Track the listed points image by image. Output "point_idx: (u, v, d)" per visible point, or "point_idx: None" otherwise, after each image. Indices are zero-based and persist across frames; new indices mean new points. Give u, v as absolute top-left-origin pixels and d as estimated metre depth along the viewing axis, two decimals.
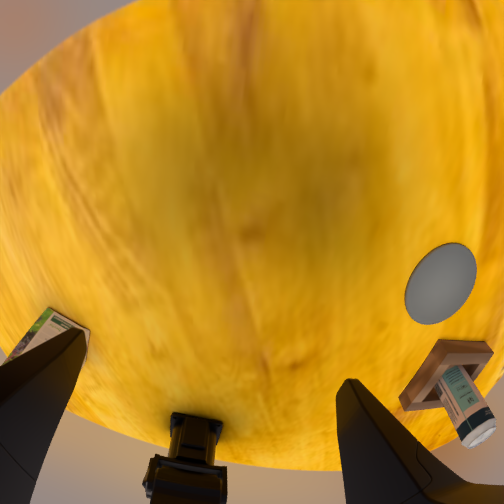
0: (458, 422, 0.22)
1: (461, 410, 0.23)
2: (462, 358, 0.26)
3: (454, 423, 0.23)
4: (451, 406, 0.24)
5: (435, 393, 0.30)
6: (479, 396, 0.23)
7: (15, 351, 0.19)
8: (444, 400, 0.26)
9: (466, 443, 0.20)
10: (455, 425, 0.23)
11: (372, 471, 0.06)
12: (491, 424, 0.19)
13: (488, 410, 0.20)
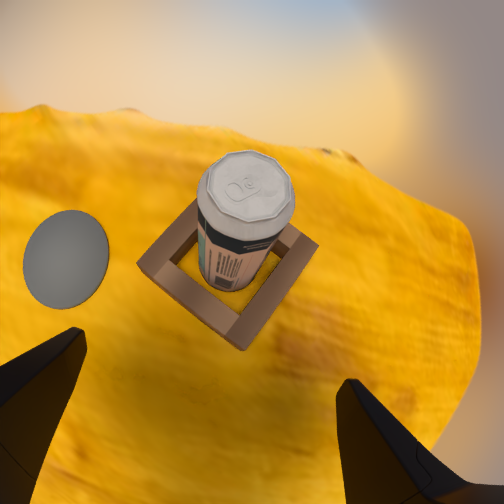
0: (219, 249, 0.15)
1: (205, 242, 0.16)
2: (174, 236, 0.22)
3: (232, 258, 0.16)
4: (215, 263, 0.18)
5: None
6: None
7: None
8: (222, 274, 0.19)
9: (240, 227, 0.13)
10: (233, 256, 0.16)
11: (372, 471, 0.06)
12: None
13: None
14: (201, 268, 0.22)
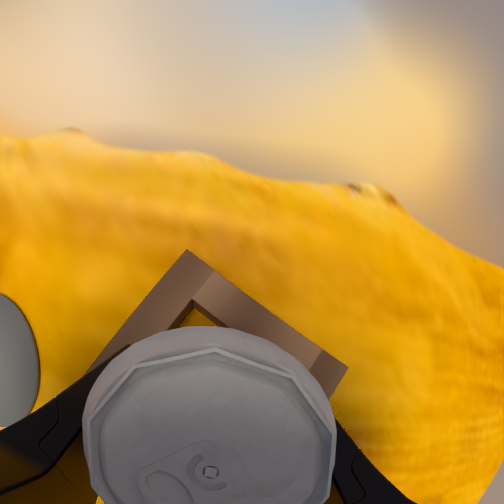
0: None
1: None
2: None
3: None
4: None
5: None
6: None
7: None
8: None
9: None
10: None
11: None
12: (103, 390, 0.04)
13: None
14: None
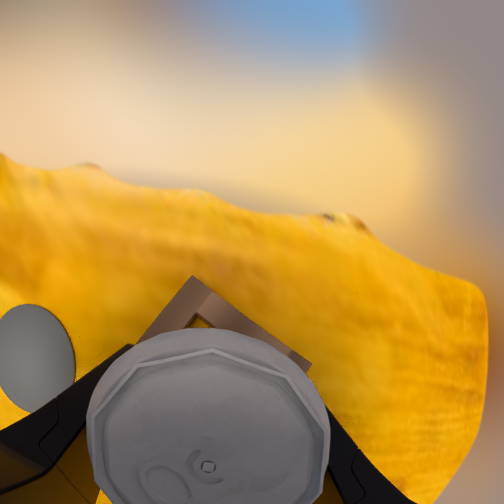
0: None
1: None
2: None
3: None
4: None
5: None
6: None
7: None
8: None
9: None
10: None
11: None
12: (107, 389, 0.04)
13: None
14: None
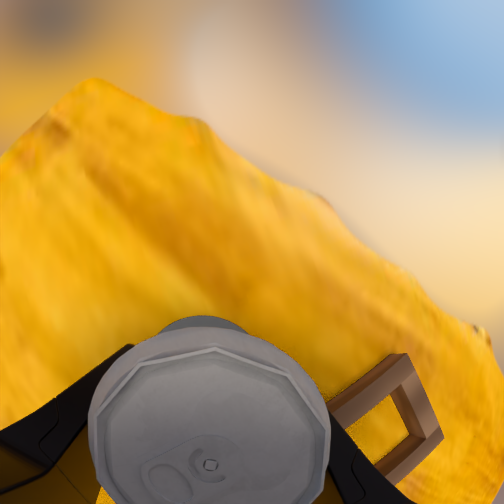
0: None
1: None
2: (349, 412, 0.18)
3: None
4: None
5: (392, 458, 0.18)
6: None
7: None
8: None
9: None
10: None
11: None
12: (109, 388, 0.04)
13: None
14: None
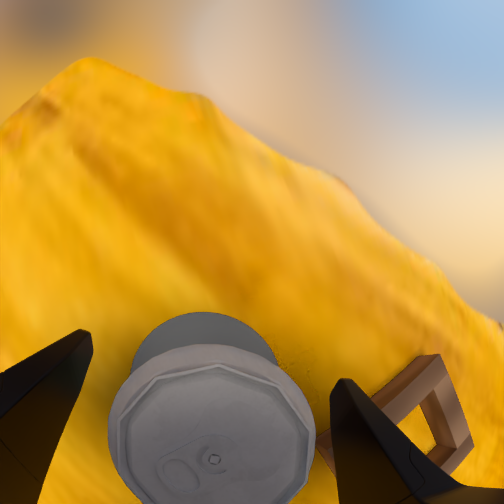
0: None
1: None
2: None
3: None
4: None
5: None
6: None
7: None
8: None
9: None
10: None
11: (365, 472, 0.06)
12: (129, 396, 0.05)
13: None
14: None
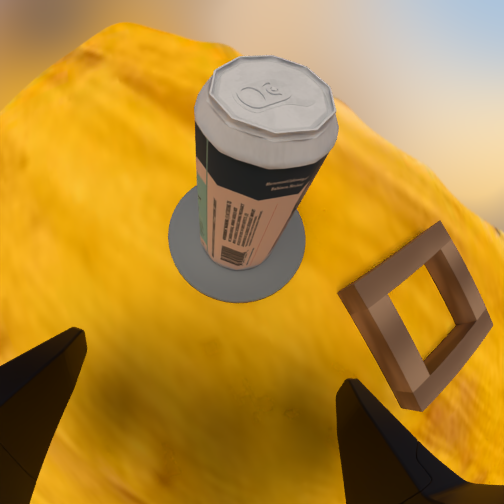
0: (228, 196, 0.10)
1: (206, 191, 0.11)
2: (396, 269, 0.18)
3: (247, 209, 0.11)
4: (222, 224, 0.13)
5: (446, 346, 0.18)
6: None
7: None
8: (232, 241, 0.14)
9: (263, 145, 0.08)
10: (248, 205, 0.10)
11: (372, 471, 0.06)
12: None
13: None
14: (203, 240, 0.17)
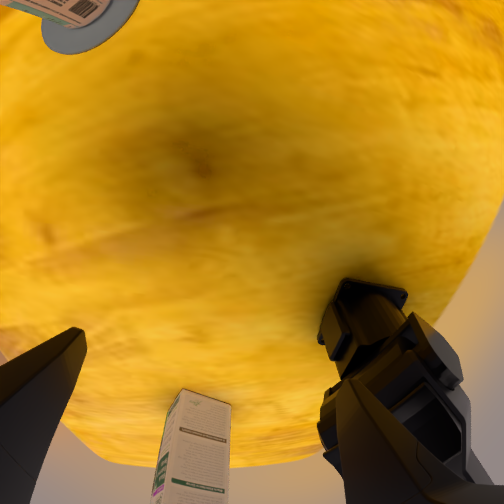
0: None
1: (18, 2, 0.07)
2: None
3: None
4: (45, 1, 0.08)
5: None
6: None
7: None
8: (66, 1, 0.09)
9: None
10: None
11: (372, 471, 0.06)
12: None
13: None
14: (66, 25, 0.12)
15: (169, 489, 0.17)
